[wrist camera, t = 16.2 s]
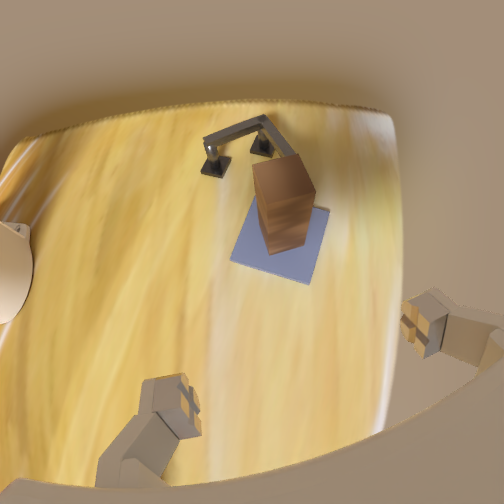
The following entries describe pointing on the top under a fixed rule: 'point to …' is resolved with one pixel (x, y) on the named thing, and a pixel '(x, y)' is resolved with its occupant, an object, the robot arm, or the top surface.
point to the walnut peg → (283, 202)
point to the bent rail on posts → (262, 144)
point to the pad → (285, 263)
